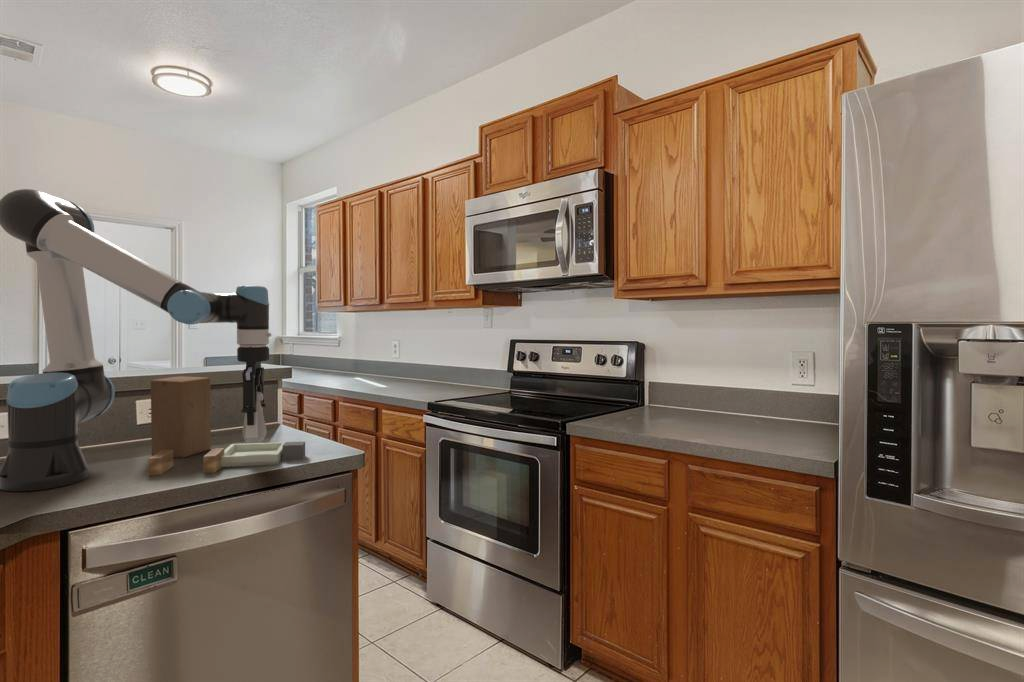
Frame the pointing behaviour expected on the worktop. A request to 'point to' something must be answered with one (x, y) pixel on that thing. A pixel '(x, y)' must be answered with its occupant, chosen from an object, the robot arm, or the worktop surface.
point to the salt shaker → (258, 422)
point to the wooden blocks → (165, 461)
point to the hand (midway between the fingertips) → (254, 434)
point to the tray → (252, 454)
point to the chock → (293, 450)
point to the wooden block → (181, 415)
